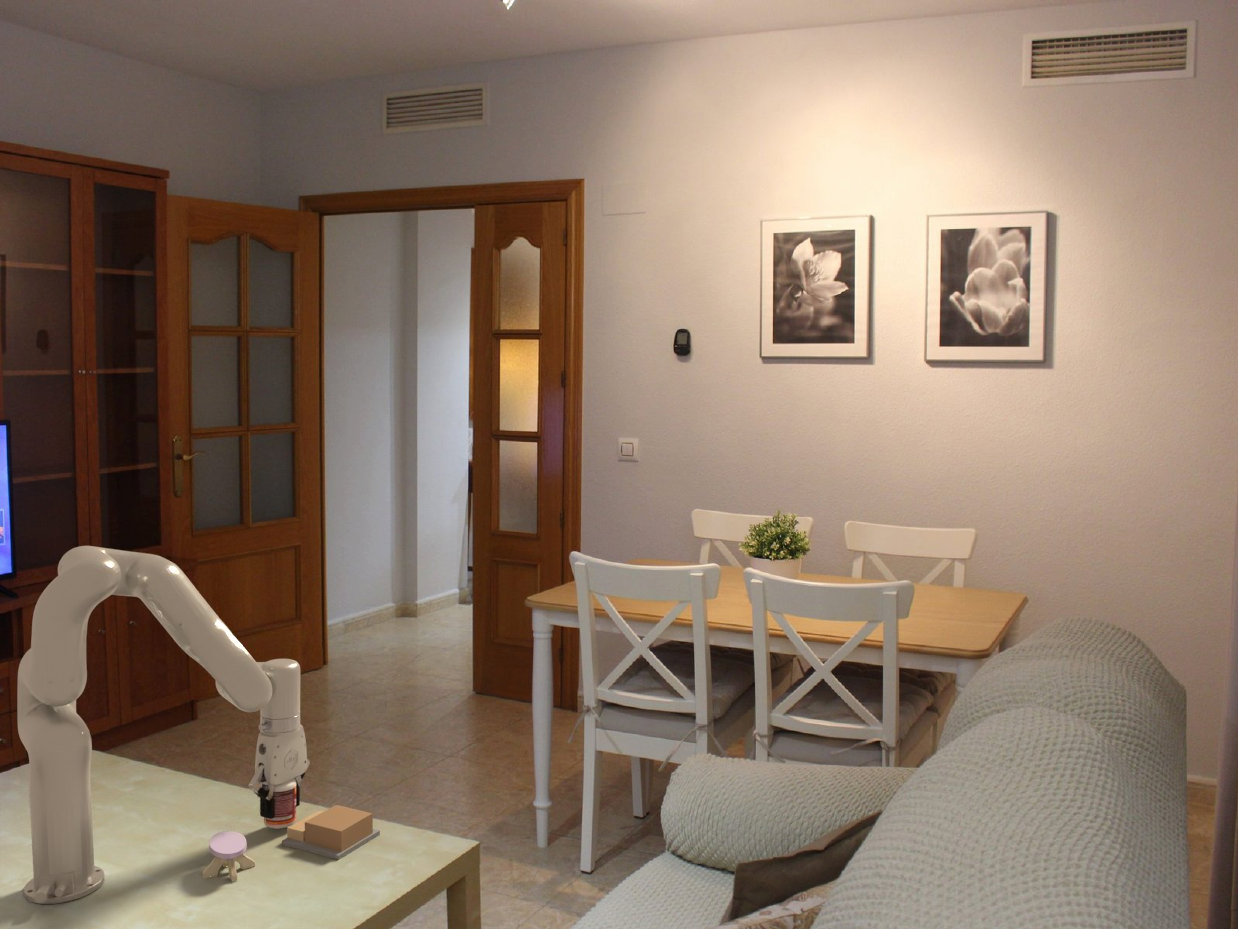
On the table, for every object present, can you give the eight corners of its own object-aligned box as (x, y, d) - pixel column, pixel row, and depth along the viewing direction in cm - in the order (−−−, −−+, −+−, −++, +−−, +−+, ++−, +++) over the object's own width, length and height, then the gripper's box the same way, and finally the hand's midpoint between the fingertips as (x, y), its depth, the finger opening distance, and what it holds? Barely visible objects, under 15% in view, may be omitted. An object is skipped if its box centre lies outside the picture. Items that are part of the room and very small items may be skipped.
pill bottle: (301, 824, 211) (302, 770, 210) (272, 832, 206) (272, 777, 205) (287, 814, 215) (287, 761, 214) (258, 822, 211) (258, 768, 210)
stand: (379, 834, 208) (379, 811, 208) (338, 860, 198) (338, 835, 197) (324, 821, 215) (324, 798, 214) (281, 844, 204) (281, 820, 203)
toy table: (203, 864, 196) (202, 834, 196) (254, 856, 199) (253, 827, 199) (202, 888, 187) (201, 857, 187) (256, 880, 190) (255, 849, 190)
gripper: (262, 738, 200) (261, 831, 201) (325, 714, 215) (324, 800, 217) (232, 731, 203) (232, 822, 204) (297, 708, 219) (296, 793, 220)
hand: (280, 810), depth 210 cm, fingers closed on pill bottle, 6 cm apart
